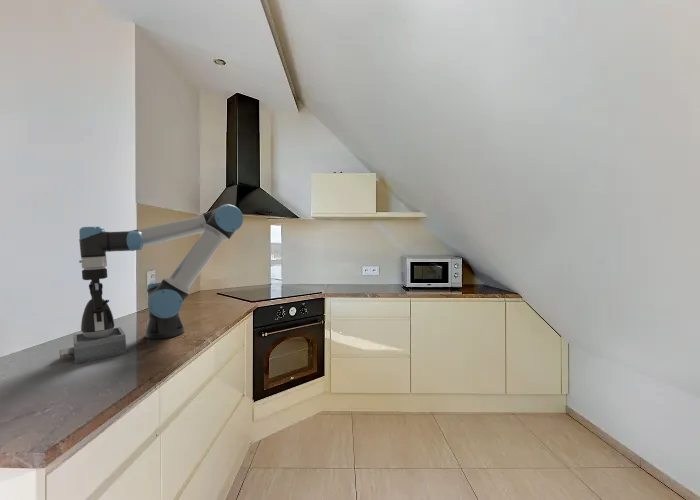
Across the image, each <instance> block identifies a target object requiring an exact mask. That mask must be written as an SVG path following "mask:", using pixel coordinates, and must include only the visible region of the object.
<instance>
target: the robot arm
mask: <svg viewBox="0 0 700 500" xmlns="http://www.w3.org/2000/svg"><path fill="white" fill-rule="evenodd" d="M243 222H244V215H243V212H242V211H241V210H240V208H238V207H237V206H235V205H232V204H229V203H227V204H221V206H218V207H217V208H214V209H211V210H210V211H207V212H203V213H200V215H198V216H195V217H194V216H193V217H190V218H186V219H180V220H176V221H171V222H165V223H162V224H157V225H153V226H146V227H143V228H139V229H133V230H128V231H127V230H126V231H125V230H124V231H106V230H105V227H104V226H83V227H80V228H79V230H78V231H79V240H78V241H79V251H80V259H79V261H78V263H79V264H81V268H82V270H81V278H82V280H83V281H90V282H89V284H88V289H89V294H90V296H91V299H92V298H93V304H94V311H92V314H94V323H95V331H100V330H104V317H103V310H104V309H103V303H102V299H103V289H104V288H103V287H104V286H103V283H102V282H101V281H100V280H103V279H106V278H108V269H107V268H106V267H107V266H108V263H107V252H135V251H141V250H143V247H146V246H151V245H155V244H159V243H165V242H168V241H171V240H172V241H173V240H177V239H181V238H185V237H190V236H193V235H198V234H201V235H200V237H198V239H197V241H196V242H195V243H194V245H193V246H192V247H191V248H190V250H189V251H188V253H187V254H186V255H185V256H184V258H183V259H182V261H181V262H180V263H179V264H178V266H177V267H176V269H175V270H174V271H172V272H173V273H172V274H171V275H170V276H169V277H166V278H163V279H162V280H161V282H153V283H152V282H151V283H149V284H148V285H147V288H146V293H147V306H148V322H147V325H146V329H145V338H146V339H149V340H161V339H162V340H163V339H169V338H172V337H177V336H180V335H182V334H184V333H185V325H184V323H183V321H182V319H181V317H180V311H181V310H182V308H183V305H184V304H183V303H184V302H185V300H187V299H188V296H190V293H191V292H190V287H191V286H193V285H192V284H193V283H194V282H196V279H197V278H198V277H199V275H200V274H201V273H202V271H203V270H204V268H205V266H206V265H207V264H208V263H209V261H210V260H211V259H212V258H213V256H214V255H215V253H216V252H218V251H217V250H218V249H219V248H220V246H221V245H222V244H223V242H227V241H229V240H230V239H231V237H232V236H233V235H234V233H235V232H236V231H238V230H239V229H240V228H241V227H242V225H243Z"/></svg>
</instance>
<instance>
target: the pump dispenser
mask: <svg viewBox="0 0 700 500" xmlns="http://www.w3.org/2000/svg"><path fill="white" fill-rule="evenodd" d="M109 302H110V299H106V300H105V299H104V298H102V303H103V309H104V310H103V317H104V330H100V331H95V323H94V314H92V311H94V304H93V298H91V299H90V300H88V302H87V303H86V305H85V308H84V310H83V313H82V316H81V324H80V332H81V333H83V335H84V336H85V337H86V338H88V339H91V340H94V339H100V338H106V337H108V336H109V335H110V334H111V333H112V332H113V329H114V328H115V326H116V322H115V319H114V316H113V312H112V310H111V307H110V306H109V304H108V303H109Z"/></svg>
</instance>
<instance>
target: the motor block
mask: <svg viewBox="0 0 700 500" xmlns="http://www.w3.org/2000/svg"><path fill="white" fill-rule="evenodd" d="M72 336H73V337H72V338H73V341H72V343H73V347H67V348H64V349H63V348H62V349H59V359H65V358H69V357H74V364H82V363H85V362H91V361H96V360H99V359H100V360H101V359H105V358H110V357H114V356H119V355H124V354H127V353H128V352H127V341H126V340H127V339H126V333H125V332H124V330H123V328H122V327H121V326H119V327H114V329H113V332H112V333H111V334H110V335H109V336H108V337H106V338H100V339H94V340H91V339H88V338H86V337H85V336H84V335H83V332H81V333H76V334H72Z"/></svg>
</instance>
